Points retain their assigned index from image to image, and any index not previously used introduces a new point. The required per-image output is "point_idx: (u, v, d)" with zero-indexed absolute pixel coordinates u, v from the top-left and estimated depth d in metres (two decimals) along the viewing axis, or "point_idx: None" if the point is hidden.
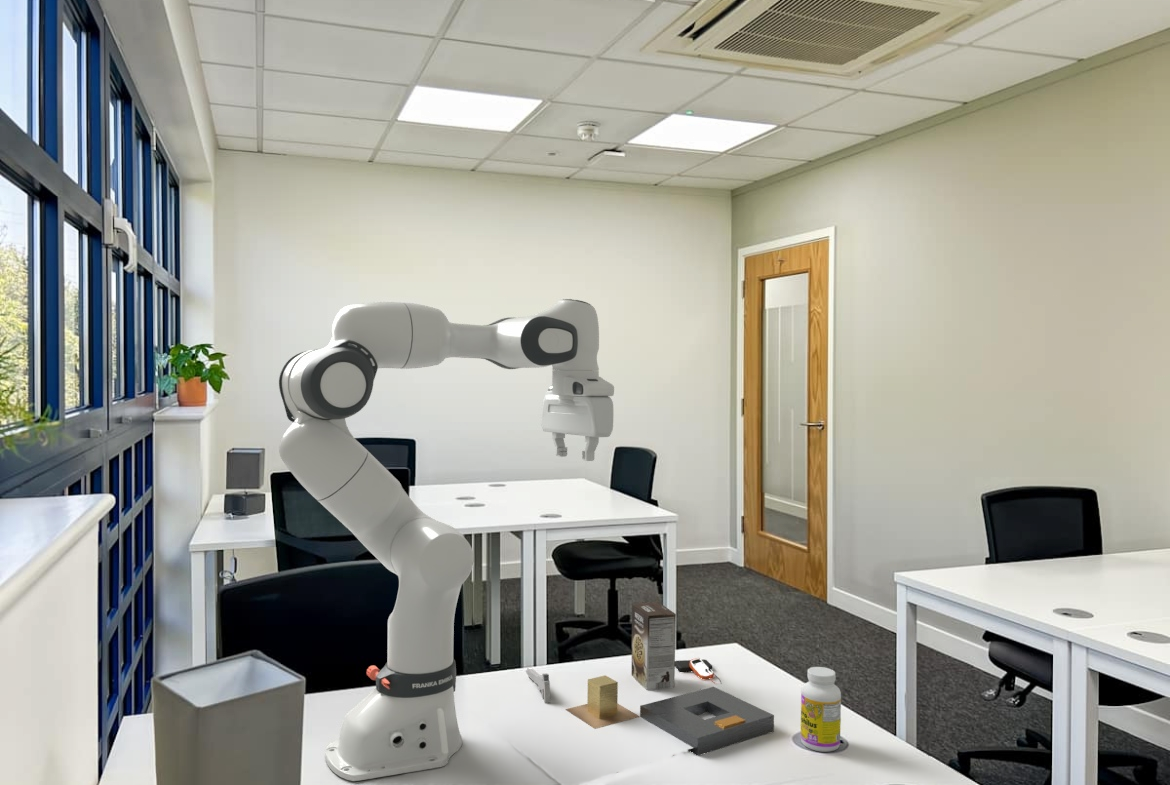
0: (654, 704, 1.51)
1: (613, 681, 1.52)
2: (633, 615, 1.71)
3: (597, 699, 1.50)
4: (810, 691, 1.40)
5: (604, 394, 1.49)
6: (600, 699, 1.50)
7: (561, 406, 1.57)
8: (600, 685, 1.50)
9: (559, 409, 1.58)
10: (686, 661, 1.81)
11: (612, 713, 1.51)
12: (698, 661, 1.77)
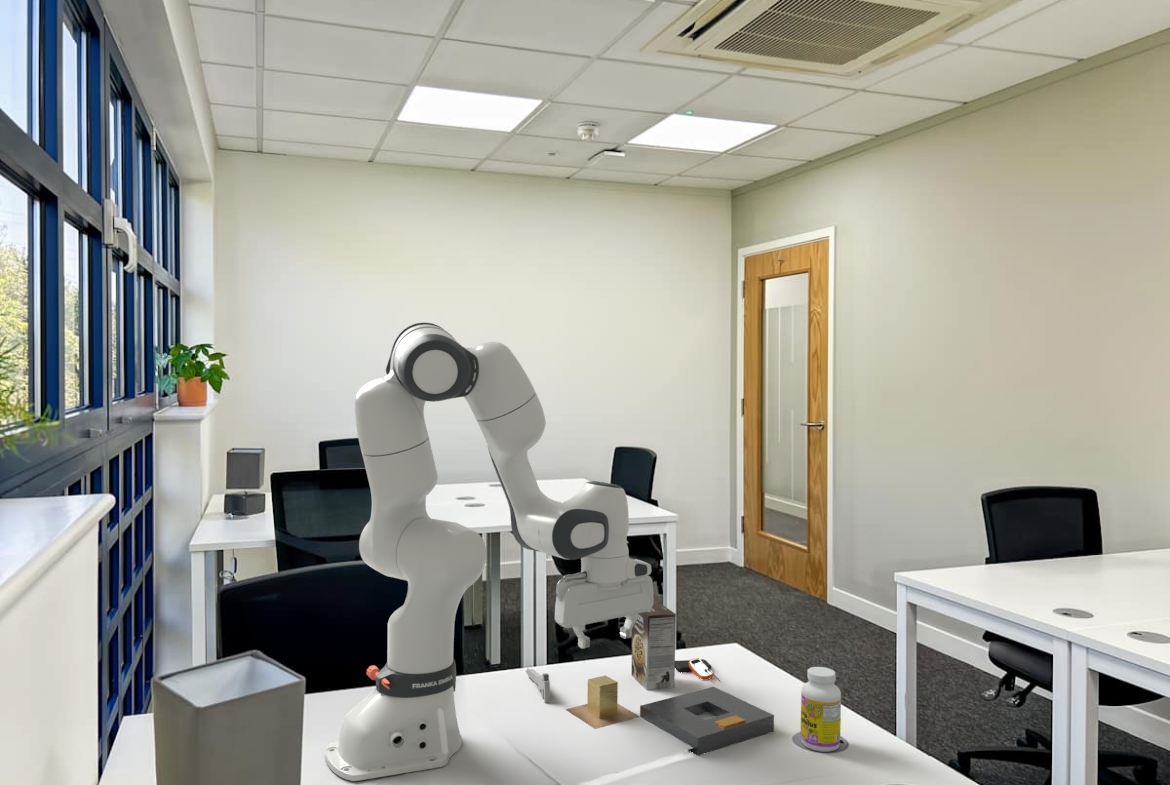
0: (654, 704, 1.51)
1: (613, 681, 1.52)
2: None
3: (597, 699, 1.50)
4: (810, 691, 1.40)
5: None
6: (600, 699, 1.50)
7: (598, 593, 1.49)
8: (600, 685, 1.50)
9: (595, 597, 1.49)
10: (685, 661, 1.81)
11: (612, 713, 1.51)
12: (697, 661, 1.77)
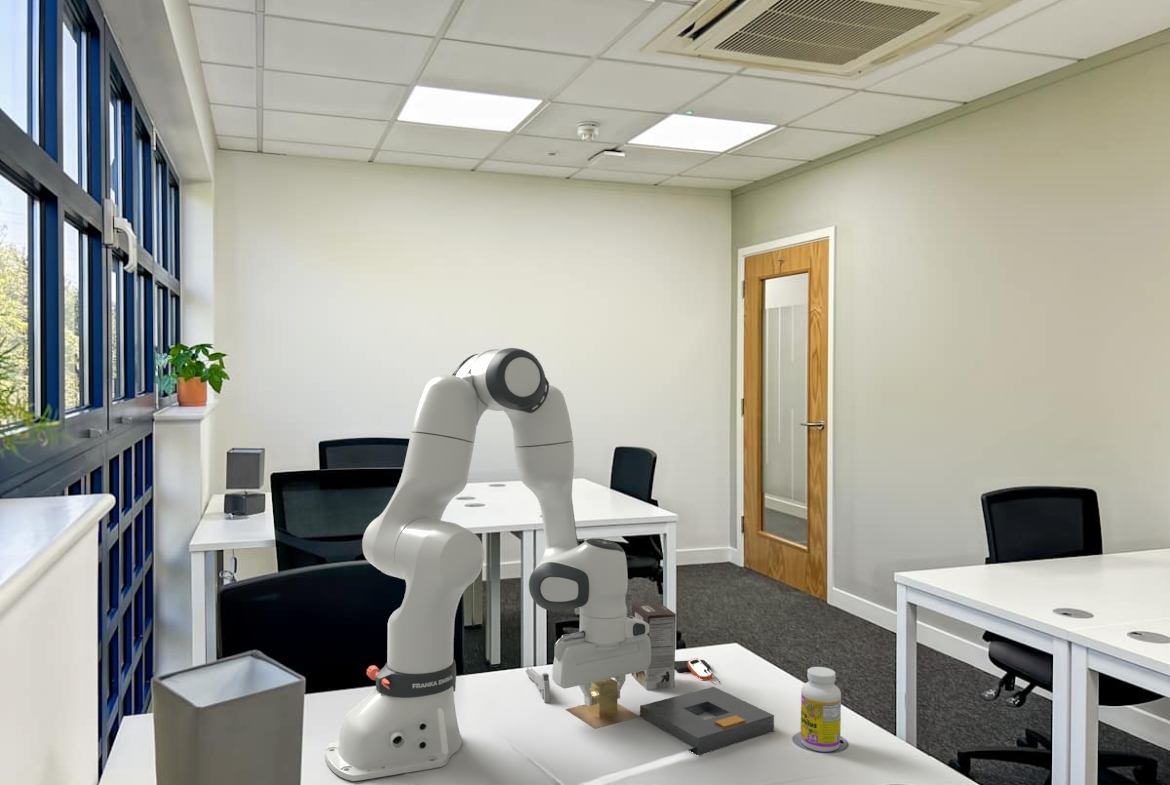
0: (654, 704, 1.51)
1: (613, 681, 1.52)
2: (633, 615, 1.71)
3: (597, 699, 1.50)
4: (810, 691, 1.40)
5: None
6: (600, 699, 1.50)
7: (596, 653, 1.49)
8: (600, 685, 1.50)
9: (593, 656, 1.49)
10: (684, 661, 1.80)
11: (612, 713, 1.51)
12: (696, 661, 1.76)
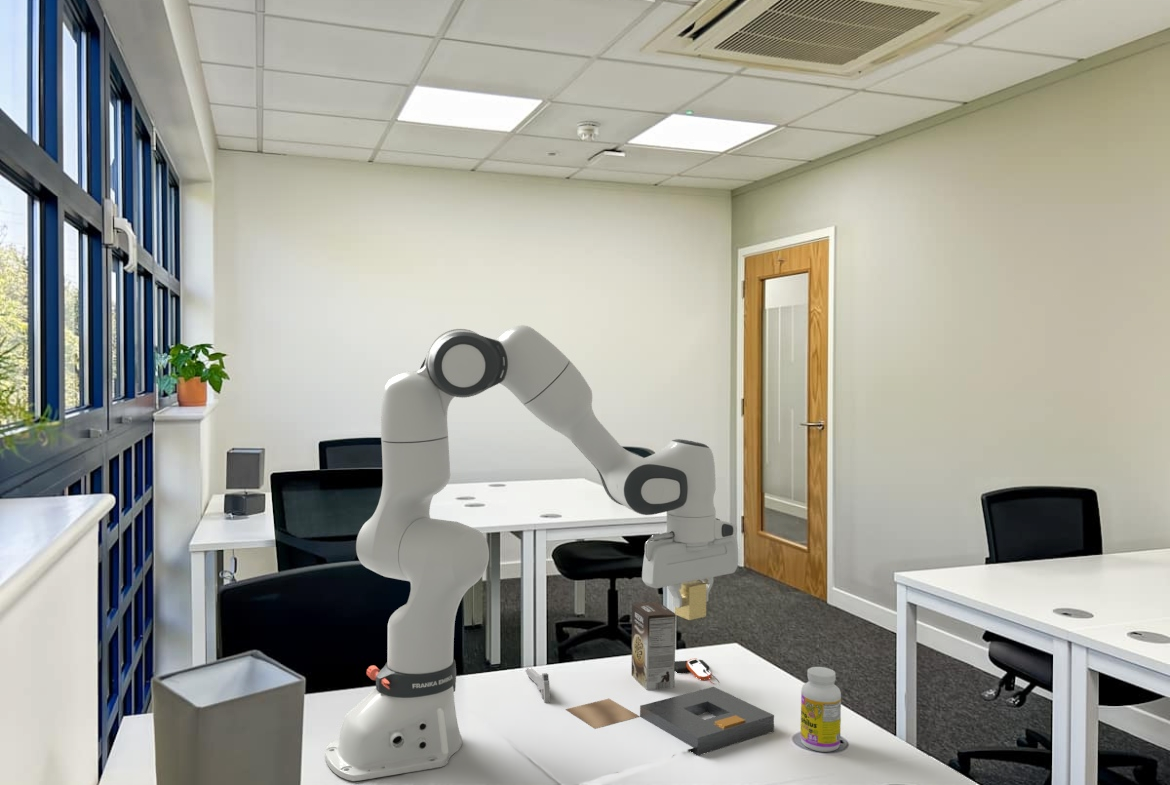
0: (654, 704, 1.51)
1: (701, 583, 1.49)
2: (633, 615, 1.71)
3: (686, 600, 1.47)
4: (810, 691, 1.40)
5: None
6: (690, 600, 1.47)
7: (686, 554, 1.46)
8: (689, 586, 1.47)
9: (683, 557, 1.46)
10: (682, 662, 1.80)
11: (701, 615, 1.48)
12: (695, 662, 1.76)
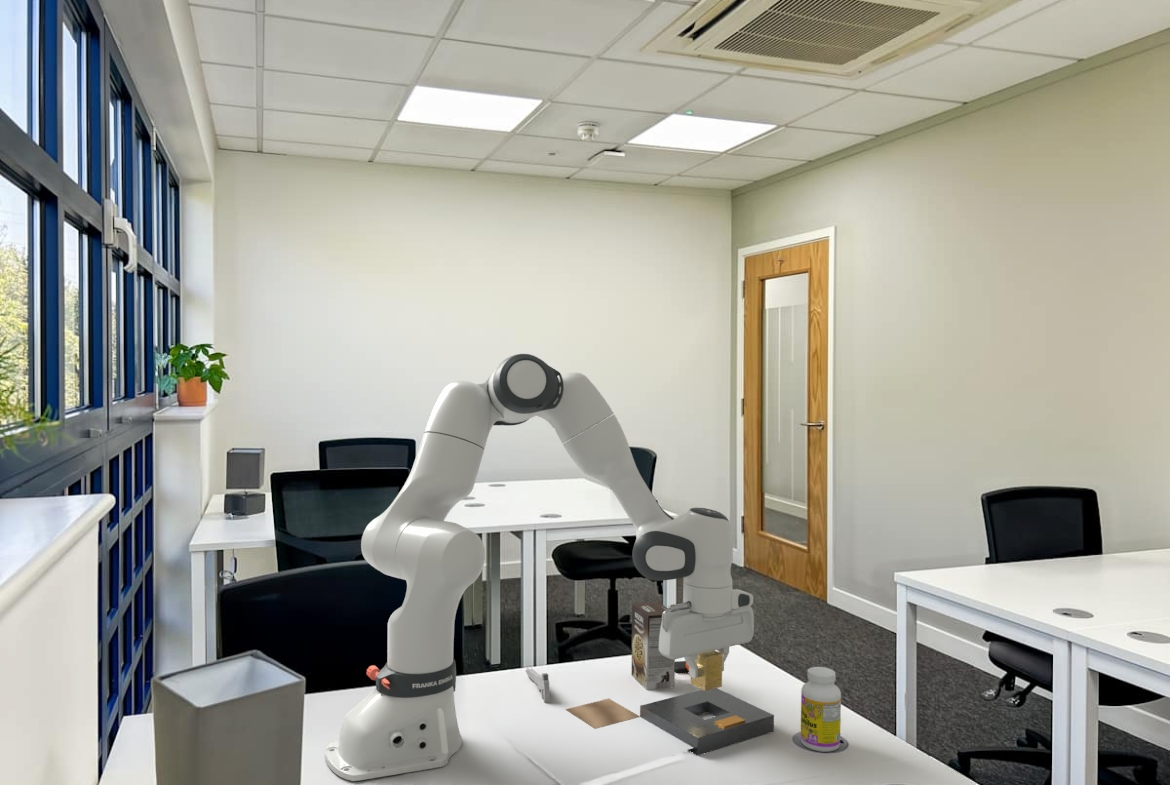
0: (654, 704, 1.51)
1: (717, 653, 1.49)
2: (633, 615, 1.71)
3: (702, 670, 1.47)
4: (810, 691, 1.40)
5: None
6: (706, 671, 1.46)
7: (702, 624, 1.46)
8: (706, 656, 1.47)
9: (699, 627, 1.46)
10: (681, 662, 1.80)
11: (717, 685, 1.48)
12: None
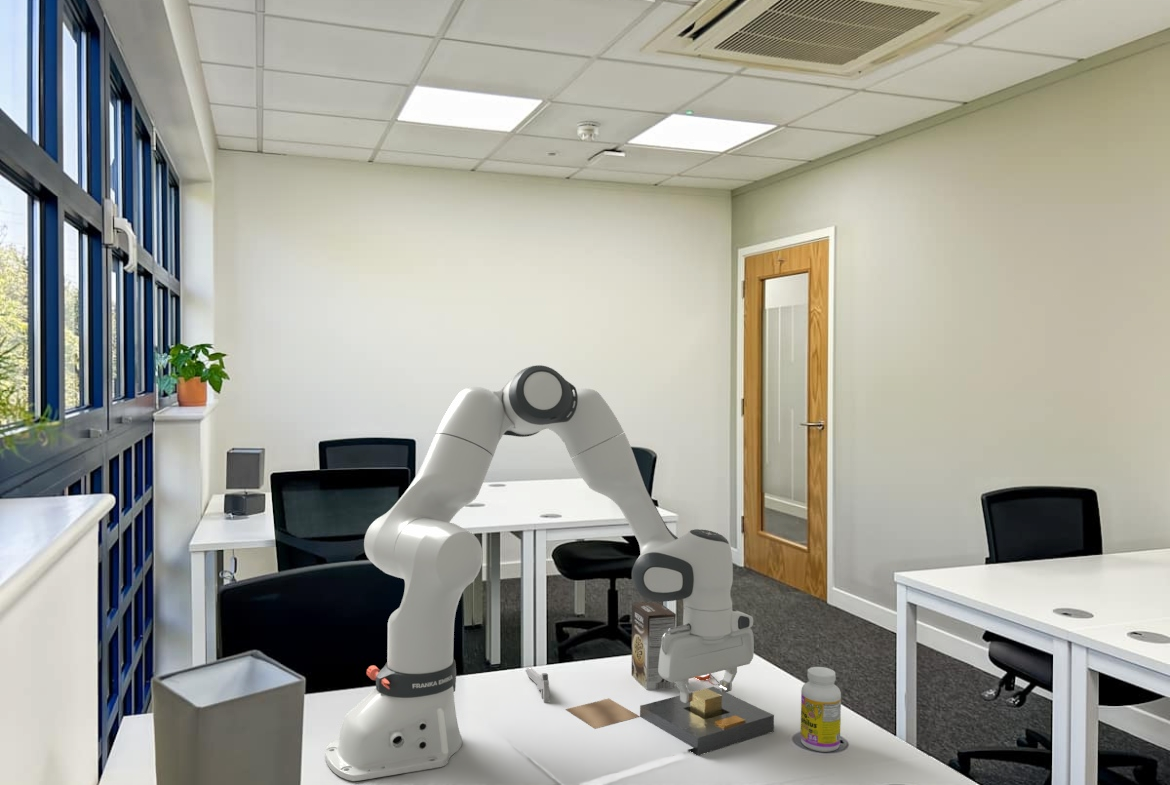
0: (654, 704, 1.51)
1: (717, 694, 1.49)
2: (633, 615, 1.71)
3: (702, 713, 1.47)
4: (810, 691, 1.40)
5: None
6: (705, 713, 1.46)
7: (702, 646, 1.46)
8: (705, 699, 1.47)
9: (699, 650, 1.46)
10: None
11: None
12: None
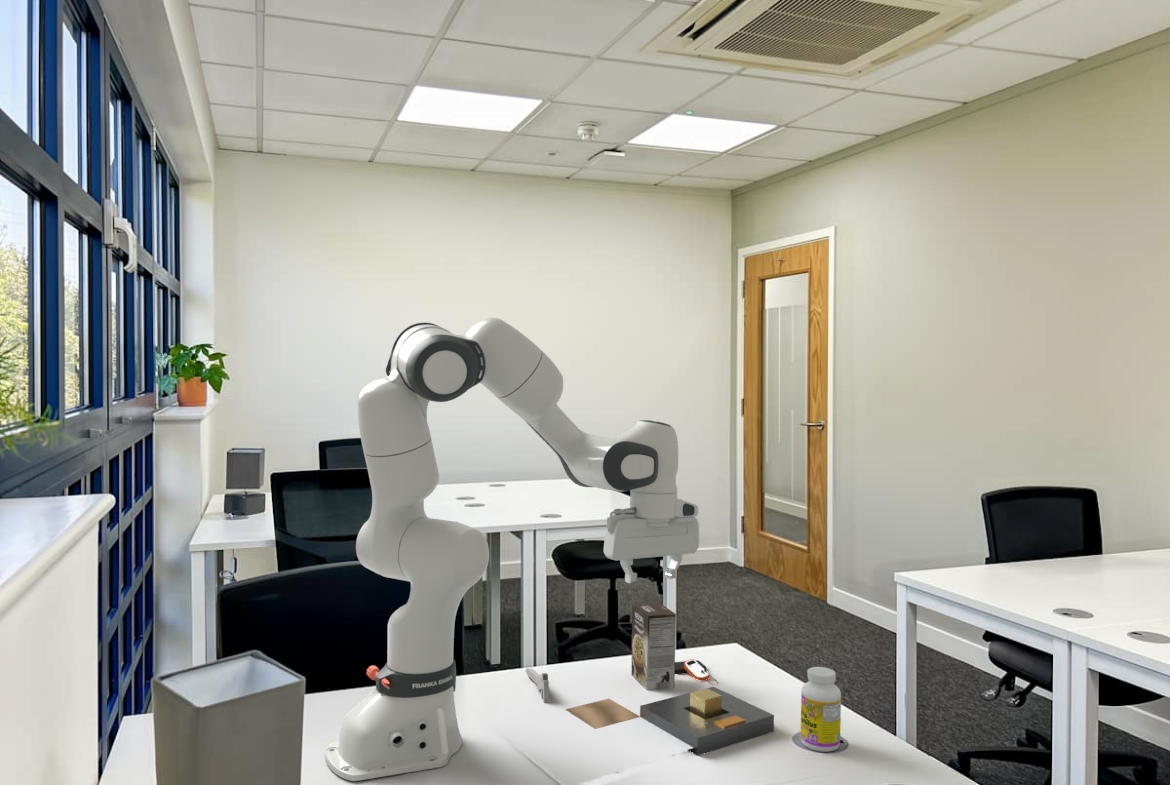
0: (654, 704, 1.51)
1: (717, 694, 1.49)
2: (633, 615, 1.71)
3: (702, 713, 1.47)
4: (810, 691, 1.40)
5: None
6: (705, 713, 1.46)
7: (647, 529, 1.52)
8: (705, 699, 1.47)
9: (643, 532, 1.51)
10: (679, 663, 1.80)
11: None
12: (693, 662, 1.76)
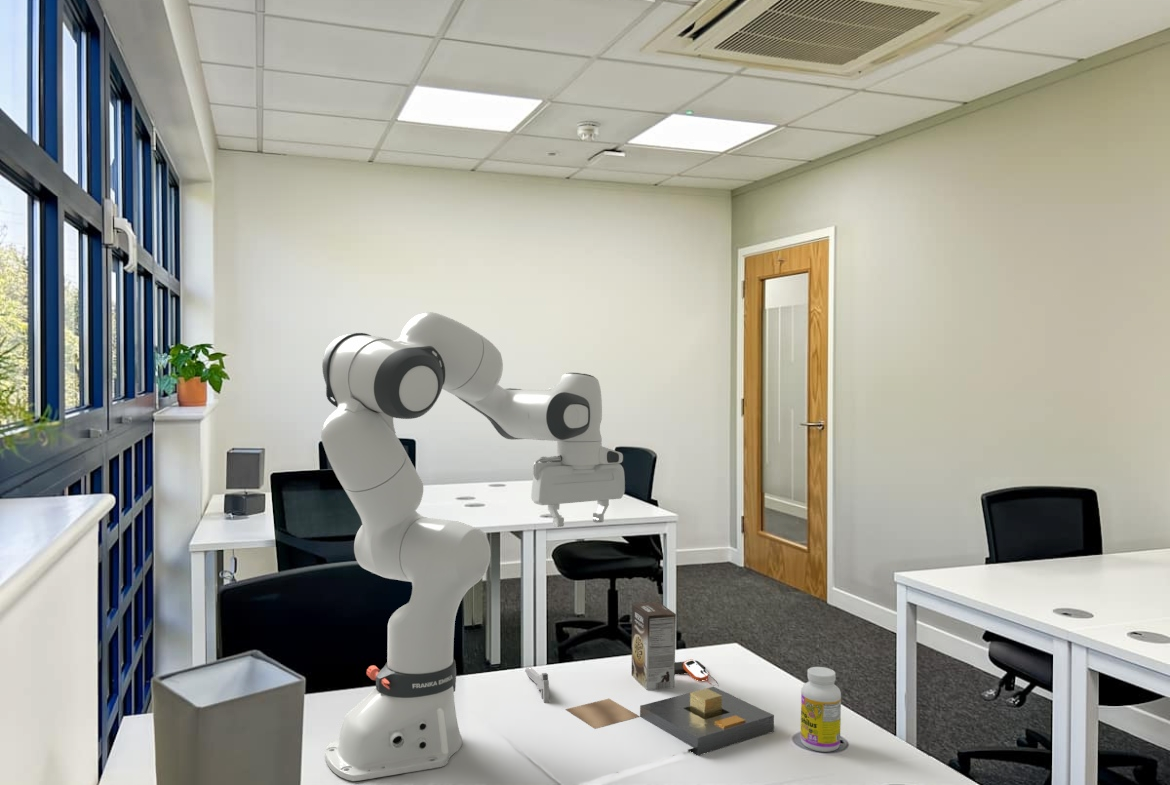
0: (654, 704, 1.51)
1: (717, 694, 1.49)
2: (633, 615, 1.71)
3: (702, 713, 1.47)
4: (810, 691, 1.40)
5: None
6: (705, 713, 1.46)
7: (572, 476, 1.60)
8: (705, 699, 1.47)
9: (569, 479, 1.60)
10: (678, 663, 1.79)
11: None
12: (692, 662, 1.76)
